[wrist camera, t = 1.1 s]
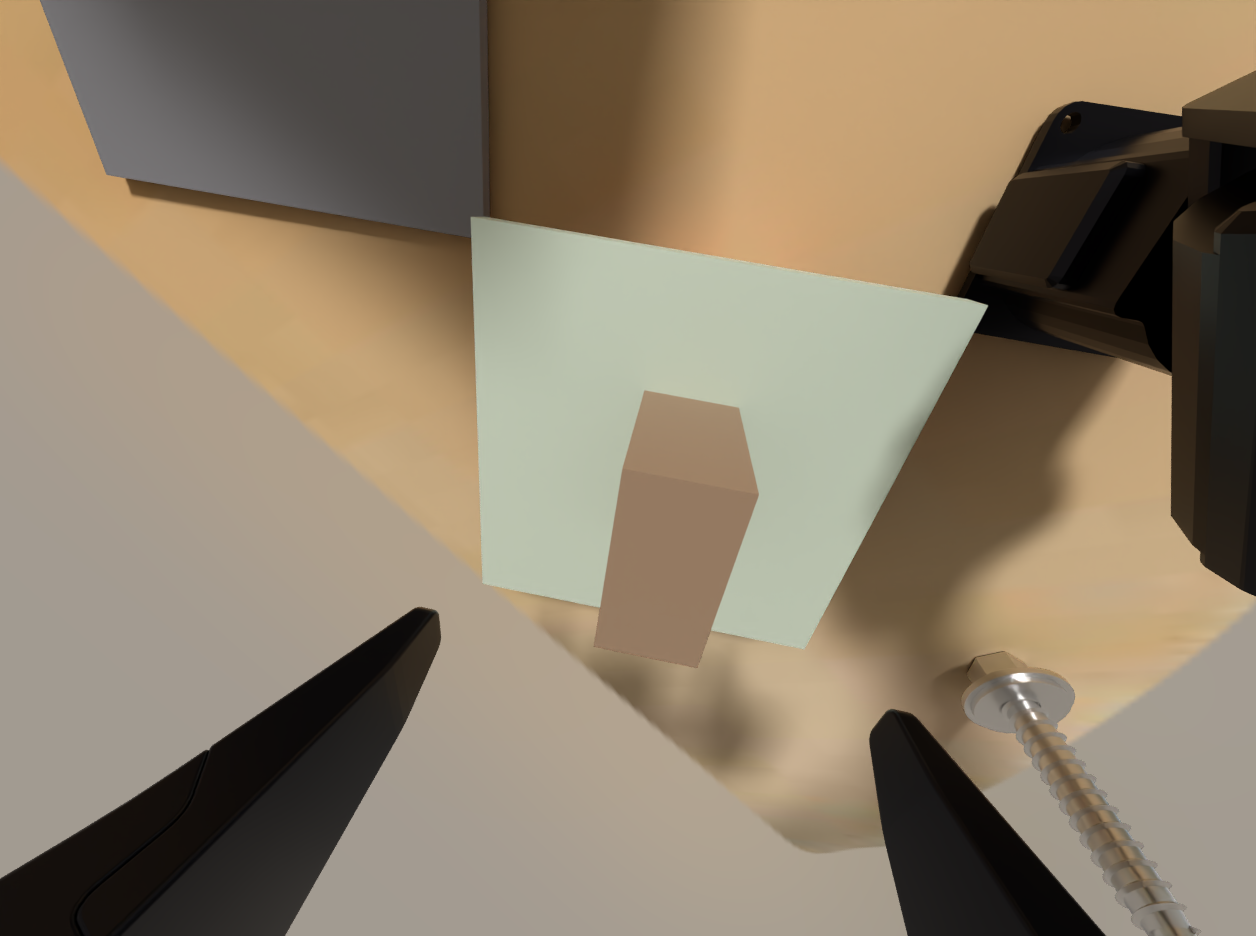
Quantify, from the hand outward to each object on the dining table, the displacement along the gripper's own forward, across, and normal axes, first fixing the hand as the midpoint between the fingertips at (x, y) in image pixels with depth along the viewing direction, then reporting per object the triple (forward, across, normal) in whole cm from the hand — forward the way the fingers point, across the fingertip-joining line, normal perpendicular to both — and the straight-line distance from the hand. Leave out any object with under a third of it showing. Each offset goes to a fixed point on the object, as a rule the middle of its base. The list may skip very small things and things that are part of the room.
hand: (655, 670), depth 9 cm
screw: (+13, -20, +11) cm, 26 cm away
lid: (+9, 0, 0) cm, 9 cm away
